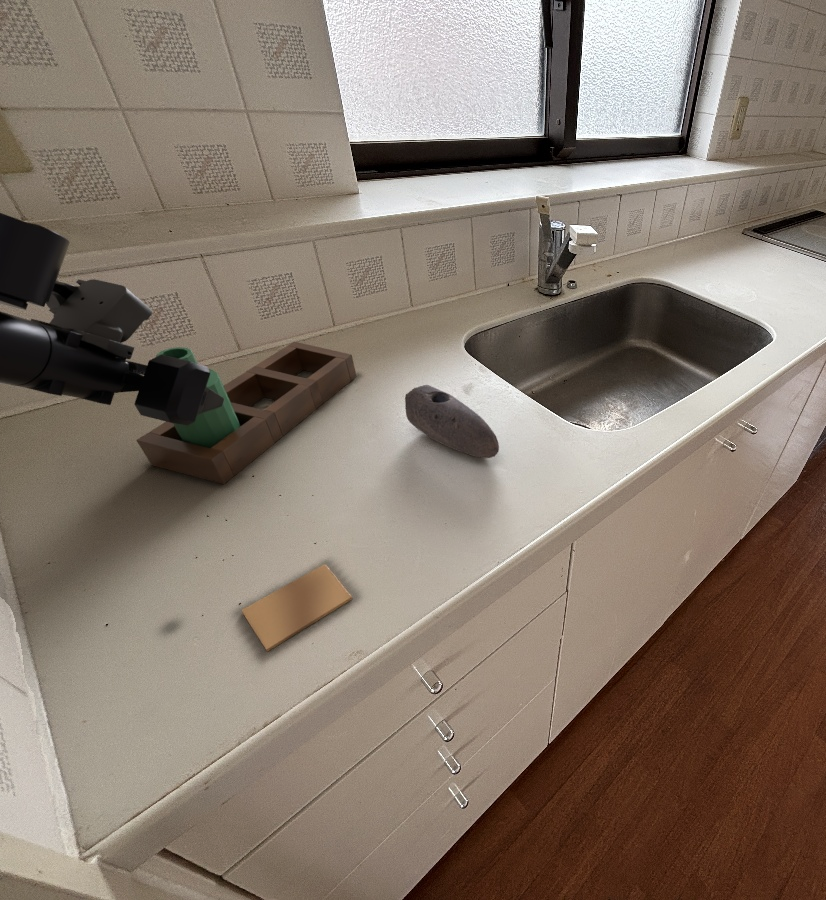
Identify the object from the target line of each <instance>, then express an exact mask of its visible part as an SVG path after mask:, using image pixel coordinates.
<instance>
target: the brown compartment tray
mask: <svg viewBox="0 0 826 900" xmlns="http://www.w3.org/2000/svg"><path fill="white" fill-rule="evenodd" d="M302 371H306V372H311V373H312V374H311V375H309V376H308V377H307V378H305V377H302V376H297V375H298V374H299V373H301V372H302ZM356 377H357V371H356V367H355V363H354V359H353V354H351V353H347V352H343V351H338V350H333V349H329V348H326V347H325V348H324V347H321V346H316V345H313V344H312V345H311V344H308V343H303V342H299V341H293V342H291V343H289V344H288V345H286V346H285V347H283V348H281V349H279V350H278V351H277V352H275V353H273V354H271V355H270V356H269V357H267V358H265V359H264V360H262V361H260V362H259V363H257V364H255V365H254V366H252V367H250V368H249V369H247V370H246V371H245V372H243V373H241V374H239V375H238V376H237V377H235V378H233V379H232V380H230V381H228V382H227V383H225V384H223V386H224V389H225V391H226V393H227V396H228V398H229V400H230V403H231V405H232V407H233V409H234V412H235V414H236V416H237V419H238V421H239V423H240V426H241V427H239V428H238V429H236V430H235V431H234V432H232V433H231V434H230V435H228V436H227V437H225V438H224V439H223V440H221V441H220V442H219V443H217V444H216V445H214V446H213V447H212V448H207V447H203V446H199V445H195V444H191V443H187V442H183V441H182V439H181V437H180V436H179V434H178V432H177V430H176V428H175V426H174V424H173V423H170V422H166V421H163V422H162V423H161V424H160V425H158V426H156V427H155V428H153V429H152V430H150V431H149V432H147V433H145V434H143V435H142V436H140V437H138V438H137V439H136V442H137V444H138V446H139V447H140V449H141V450H142V452H143V454H144V456H145V457H146V458H147V460H148V462H149V463H150V465H151V466H153V467H158V468H161V469H165V470H169V471H172V472H176V473H179V474H183V475H187V476H191V477H195V478H198V479H203V480H206V481H210V482H214V483H218V484H221V485H225V484H226V483H227V482H228V481H230V480H231V479H232V478H234V476H236V475H237V474H239V473H240V472H241V471H242V470H244V469H245V468H246V467H248V466H249V465H250V463H253V462H254V461H255V460H256V459H257V458H259V457H260V456H261V455H262V454H263V453H264V452H265V451H267V450H268V449H269V448H270V447H272V446H273V445H274V444H275V443H276V442H277V441H279V440H280V439H282V438H283V437H285V435H286V434H288V433H289V432H290V431H291V430H293V429H294V428H295V427H296V426H297V425H299V424H301V422H302V421H304V420H305V419H306V418H307V417H308V416H310V415H312V413H314V412H315V411H316V410H317V409H319V407H321V406H322V405H323V404H325V403H326V402H327V401H329V400H330V399H331V398H332V397H333V396H335V394H336V393H338V392H339V391H340V390H342V389H343V388H344V387H345V386H346V385H348V384H349V383H350V382H351V381H353V380H354V379H355V378H356ZM263 398H268V399H272V400H275V401H274V402H272V403H271V404H270V405H268V406H266V407H265V408H264V409H260V408H257V407H252V406H253V405H255V404H257V403H258V402H259V401H261V400H263Z"/></svg>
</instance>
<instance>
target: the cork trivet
mask: <svg viewBox="0 0 826 900" xmlns="http://www.w3.org/2000/svg"><path fill="white" fill-rule="evenodd" d="M352 600H353V597H352V595H351V594H350V592H349V591H348V590H347V588H346V587H345V586H344V585H343V583H342V582H341V581H340V580H339V579H338V578H337V576H336V575H335V574H334V573H333V572H332V570H331V569H330V568H329V566H328V565H327V564H326V563H324V564H322V565H320V566H319V567H317V568H315V569H313V570H311V571H309V572H308V573H306V574H304V575H302V576H301V577H299V578H297V579H295V580H293V581H291V582H289V583H288V584H286V585H284V586H282V587H280V588H278V589H277V590H275V591H274V592H272V593H270V594H268V595H266V596H265V597H263V598H261V599H259V600H257V601H255V602H254V603H252V604H250V605H248V606H246V607H244V608H243V609H241V613H242V614H243V616H244V617H245V620H246V621H247V623H248V624H249V625H250V627H251V628H252V630H253V631H254V634H255V635H256V636H257V638H258V639H259V641H260V643H261V644H262V646H263V647H264V649H265V651H266V652H269V651H271V650H273V649H275V648H276V647H278V646H279V645H281V644H282V643H284V642H287V640H289V639H291V638H292V637H293V636H295V635H297V634H298V633H300V632H302V631H303V630H305V629H307V628H308V627H310V626H311V625H313V624H315V623H316V622H317V621H319V620H321V619H322V618H324V617H326V616H327V615H329V614H331V613H333V612H334V611H335V610H337V609H339V608H340V607H342V606H344V605H345V604H347V603H348V602H350V601H352Z"/></svg>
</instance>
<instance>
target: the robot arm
mask: <svg viewBox="0 0 826 900" xmlns="http://www.w3.org/2000/svg"><path fill="white" fill-rule="evenodd" d="M70 244H71V241H70V240H69V239H67V237H65V236H63V235H61V234H59V233H57V232H55V231H53V230H51V229H49V228H47V227H45V226H42V225H40V224H37V223H32V222H27V221H24V220H21V219H18V218H16V217H14V216H10V215H7V214H5V213H2V212H0V304H1V305H4V306H8V307H11V308H15V309H20V310H24V311H27V308H28V305H29V304H32V305H35V306H39V307H42V308H45V306H46V307H48V308H49V309H48V311H49V312H50V313H51V314H53V318H52V319H51V320H50V322H46V321H43V320H38V319H34V318H31V319H26V318H23V317H20V316H17V315H14V314H10V313H7V312H4V311H0V384H5V385H10V386H15V387H20V388H25V389H29V390H33V391H37V392H41V393H44V394H49V395H55V396H60V397H62V395H63V396H66V397H71V398H76V399H77V398H78V399H81V400H86V401H90V402H93V403H97V404H102V405H108V406H112V402H113V399H114V396H115V394H119V393H126V392H127V393H131V392H137V395H136V397H135V400H134V403H133V405H134V406H135V408H136V409H137V411H138V413H139V415H140V416H143V417H147V418H151V419H154V420H159V421H163V422H170V423H175V424H181V425H187V426H189V425H190V424H192V423H194V422H195V420H196V417H197V415H198V414H201V413H203V412H207V411H210V410H213V409H216V408H219V407H221V406H222V404H223V401H224V398H223V397H222V396H220V395H219V394H217V393H216V392H214V391H212V390H211V389H209V388H208V387H206V386H207V383H208V379H209V376H210V371H209V369H210V368H209V367H208V366H206V365H203V364H199V363H198V362H197V363H198V364H197V363H194V362H190V361H186V360H182V359H178V358H173V357H169V356H165V355H159V356H157V357H156V356H155V357H153V358H150V359H149V360H148V362H147V364H143V363H139V362H134V361H131V359H132V356H133V354H134V351H135V346H132V345H129V344H125V343H124V342H126V341H128V340H129V339H130V338H132V336H133V335H134V334H135V333H136V331H137V330H138V329H139V327H141V325H142V324H143V323H144V322H145V321H148V320H149V319H150V318H151V316H152V314H153V310H152V309H151V308H150V307H149V306H148V305H147V304H146V303H145V302H143V301H142V300H141V299H140V298H139V297H138V296H137V295H135V294H134V293H133V292H132V291H130V289H128V288H127V287H126V286H124V285H122V284H117V283H113V282H110V281H109V282H108V281H104V280H99V279H93V278H92V279H88V280H83V279H77V280H76V281H75V283H76V284H77V285H73V284H70V283H66V282H62V281H59V280H58V277H59V275H60V271H61V268H62V265H63V263H64V259H65V258H66V256H67V255H66V254H67V252H68V250H69V246H70Z"/></svg>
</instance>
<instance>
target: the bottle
mask: <svg viewBox="0 0 826 900" xmlns="http://www.w3.org/2000/svg"><path fill="white" fill-rule="evenodd" d="M159 355H165V356H169V357H173V358H178V359H182V360H186V361H190V362H194V363H197V364H199V363H198V361H197V359H196V356H195V355H194V352H193V349H190V348H188V347H183V346H175V347H169V348H166V349H163V350H161V351H159V352H158V353H156V354H155V357H157V356H159ZM208 369H209V371H210V376H209V379H208V383H207V386H206V387H208V388H209V389H211V390H212V391H214V392H216V393H217V394H219V395H220V396H222V397H223V398H224V401H223V404H222V406H221V407H219V408H216V409H213V410H210V411H207V412H203V413H201V414H198V415H197V417H196V420H195V422H194V423H192V424H190V425H189V426H187V425H181V424H175V423H173V424H174V426H175V428H176V430H177V432H178V434H179V436H180V437H181V439H182V441H183V442H187V443H191V444H195V445H199V446H203V447H207V448H212V447H213V446H214V445H216V444H217V443H219V442H220V441H221V440H223V439H224V438H225V437H227V436H228V435H230V434H231V433H232V432H234V431H235V430H236V429H238V428H239V427H241V426H240V423H239V421H238V419H237V416H236V414H235V412H234V409H233V407H232V405H231V403H230V400H229V398H228V396H227V393H226V391H225V389H224V384H223V382H222V379H221V377H220V374H219V373H218V372H217V371H215V370H214V369H212V368H208Z"/></svg>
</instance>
